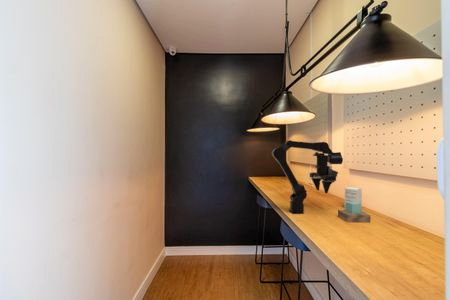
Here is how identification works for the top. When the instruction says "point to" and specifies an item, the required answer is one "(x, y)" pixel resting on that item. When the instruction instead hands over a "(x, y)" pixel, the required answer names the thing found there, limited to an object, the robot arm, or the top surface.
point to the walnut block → (354, 217)
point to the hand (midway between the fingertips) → (322, 191)
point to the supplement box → (353, 195)
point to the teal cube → (353, 207)
